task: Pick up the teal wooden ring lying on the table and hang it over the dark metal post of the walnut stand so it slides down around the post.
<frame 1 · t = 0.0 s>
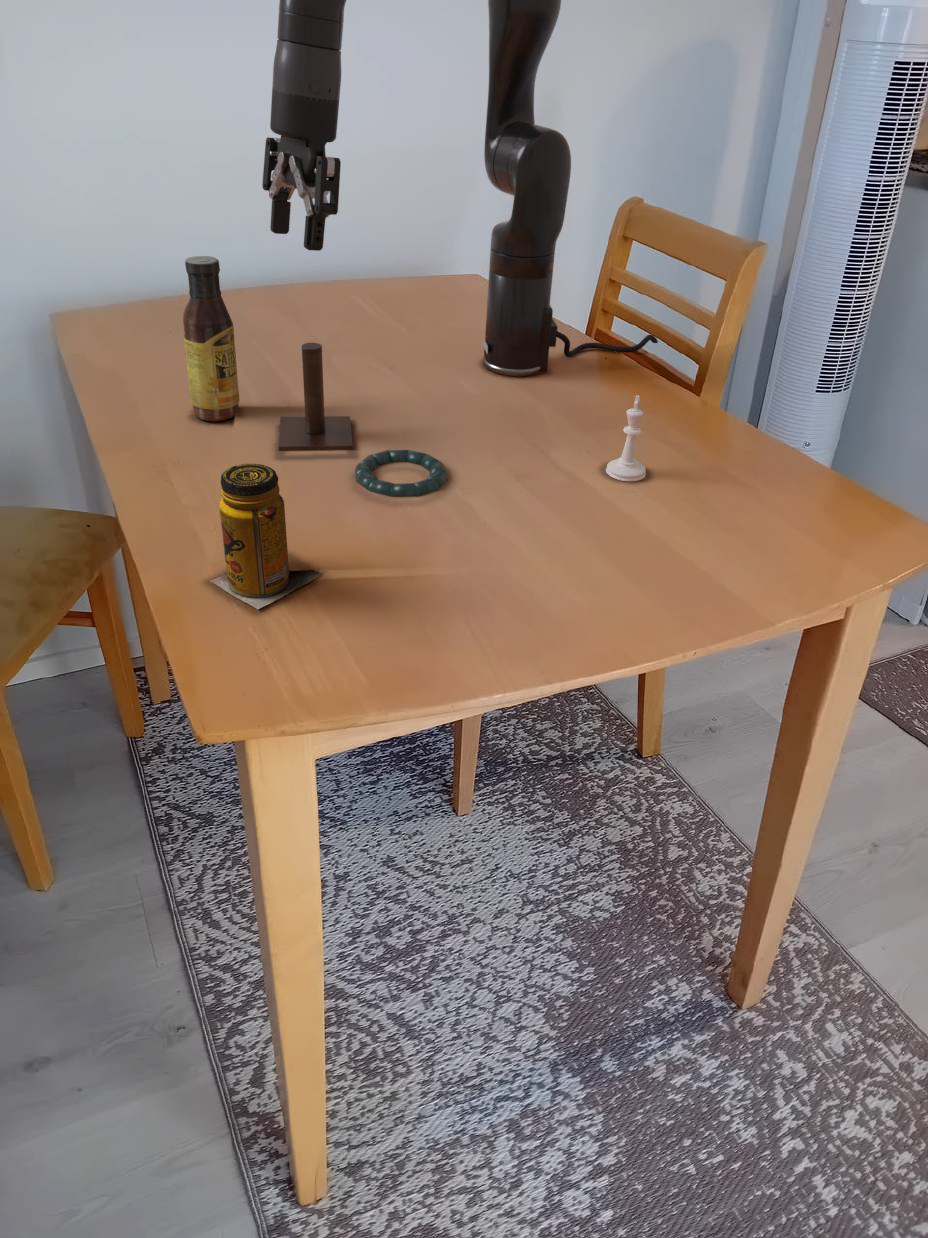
hand: (295, 241, 118), 22 cm above the table, tool pointing down, fingers open, 8 cm apart
condiment: (267, 581, 98), on the table
sauce bottle: (217, 415, 130), on the table
ring: (401, 474, 116), point 1 cm above the table
peg stand: (316, 441, 124), on the table
chess piece: (625, 473, 121), on the table
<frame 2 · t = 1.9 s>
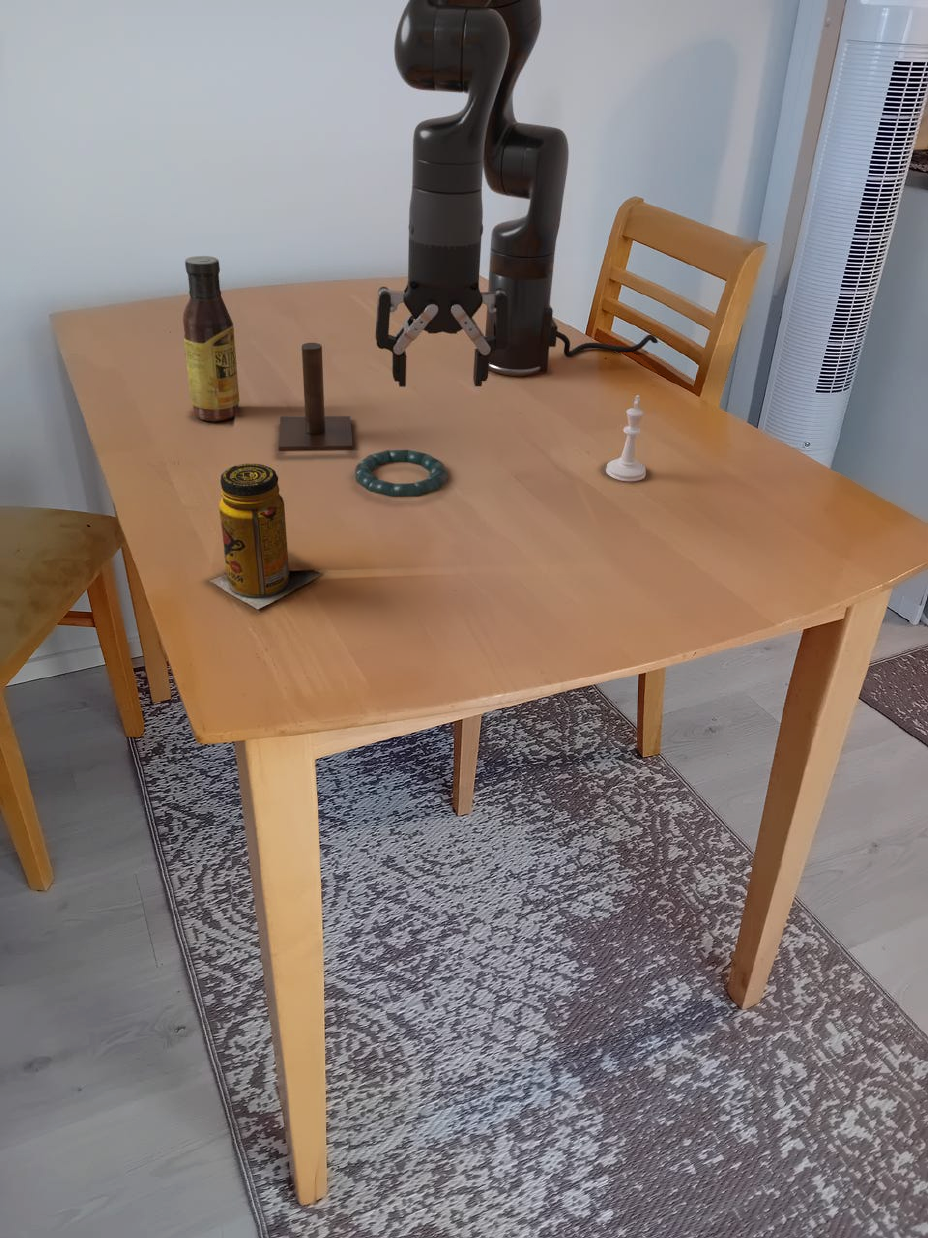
hand: (439, 384, 110), 12 cm above the table, tool pointing down, fingers open, 8 cm apart
nothing on the table moved.
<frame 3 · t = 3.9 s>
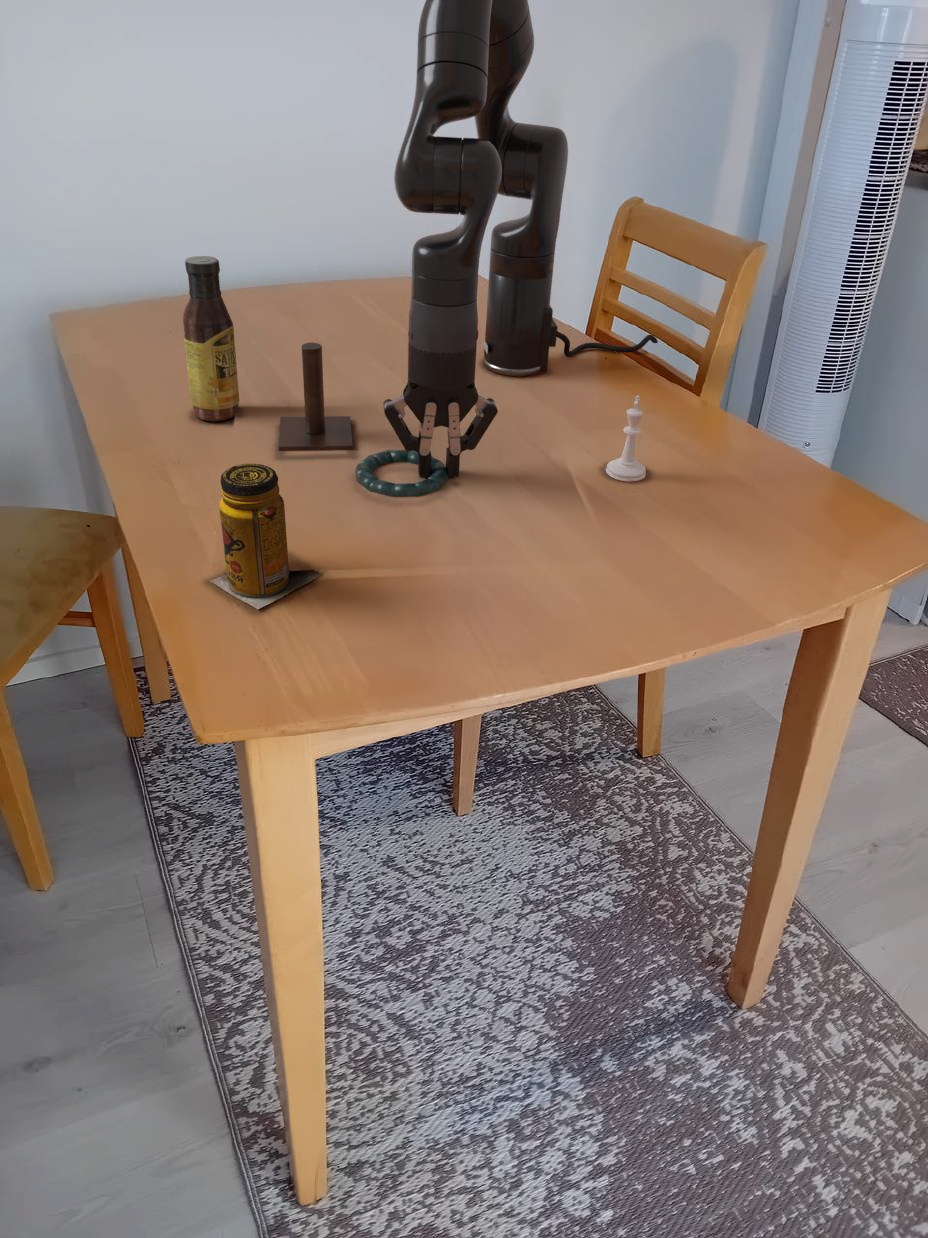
hand: (437, 479, 117), 0 cm above the table, tool pointing down, fingers closed on ring, 2 cm apart
ring: (401, 474, 116), point 1 cm above the table, touching gripper
everything else where it was.
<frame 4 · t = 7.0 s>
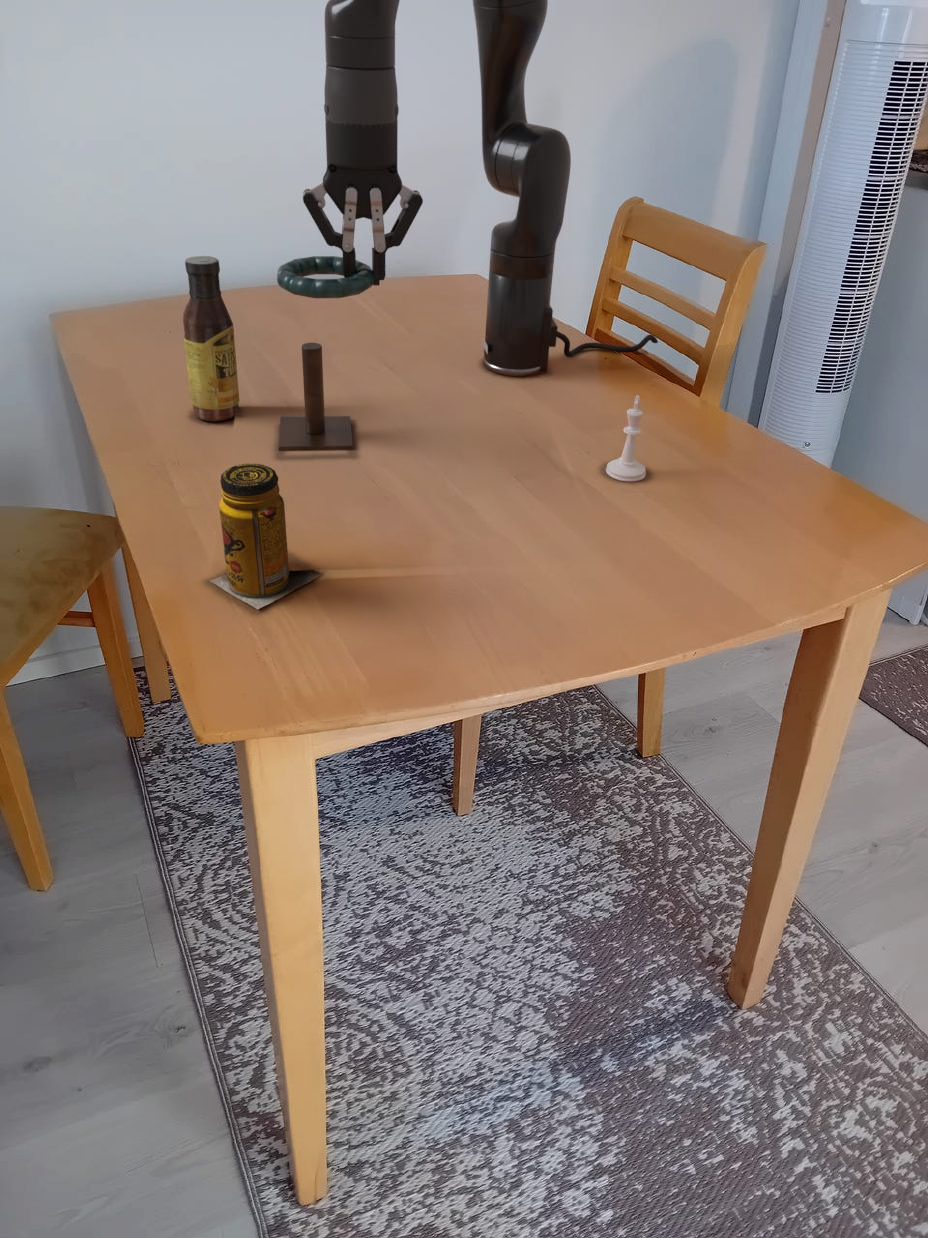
hand: (364, 282, 111), 21 cm above the table, tool pointing down, fingers closed on ring
ring: (325, 276, 110), point 21 cm above the table, touching gripper
everything else where it was.
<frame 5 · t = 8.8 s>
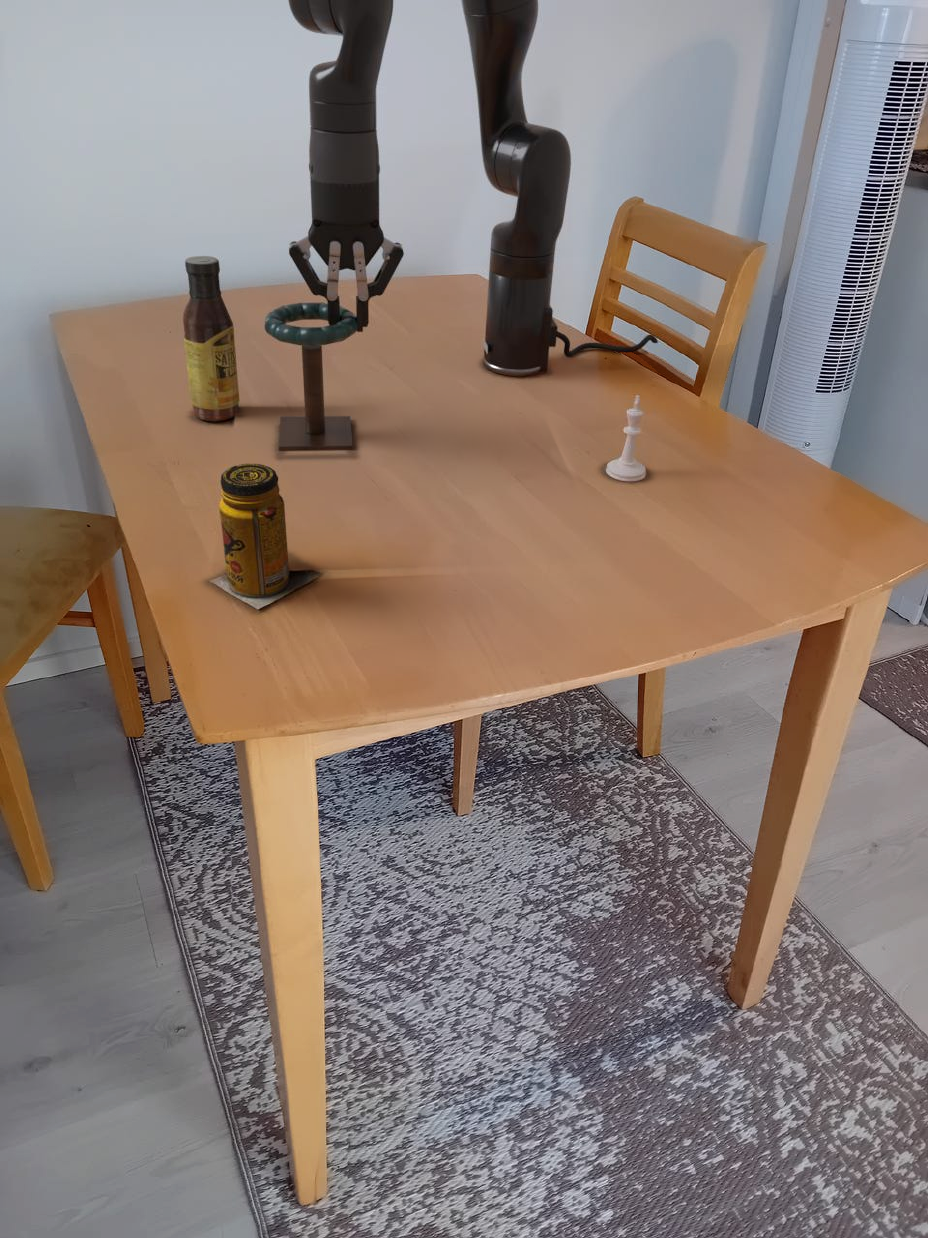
hand: (348, 329, 116), 15 cm above the table, tool pointing down, fingers closed on ring
ring: (311, 323, 115), point 15 cm above the table, touching gripper
everything else where it was.
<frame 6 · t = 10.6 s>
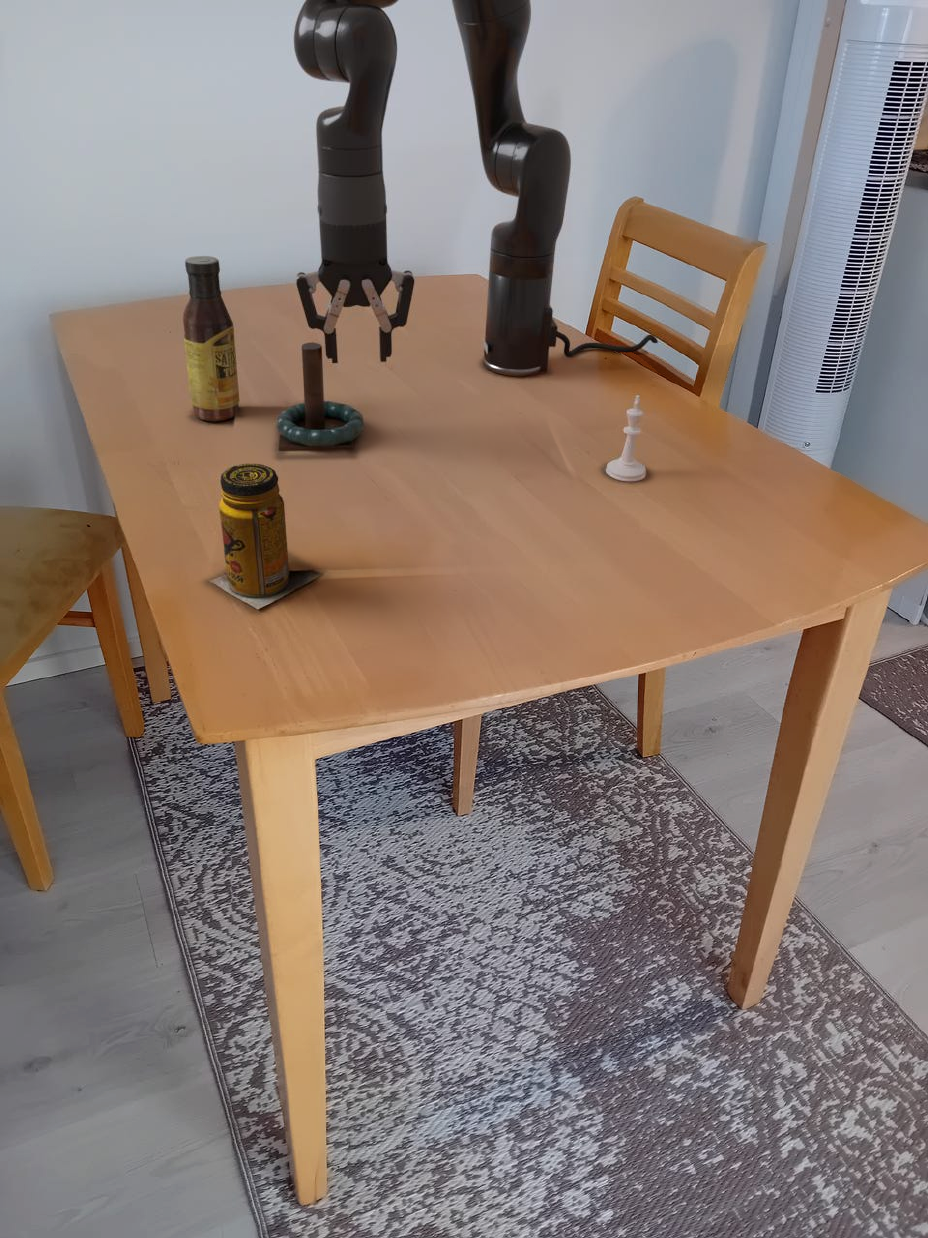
hand: (358, 359, 119), 11 cm above the table, tool pointing down, fingers open, 5 cm apart
ring: (320, 423, 123), point 2 cm above the table, touching peg stand
everything else where it was.
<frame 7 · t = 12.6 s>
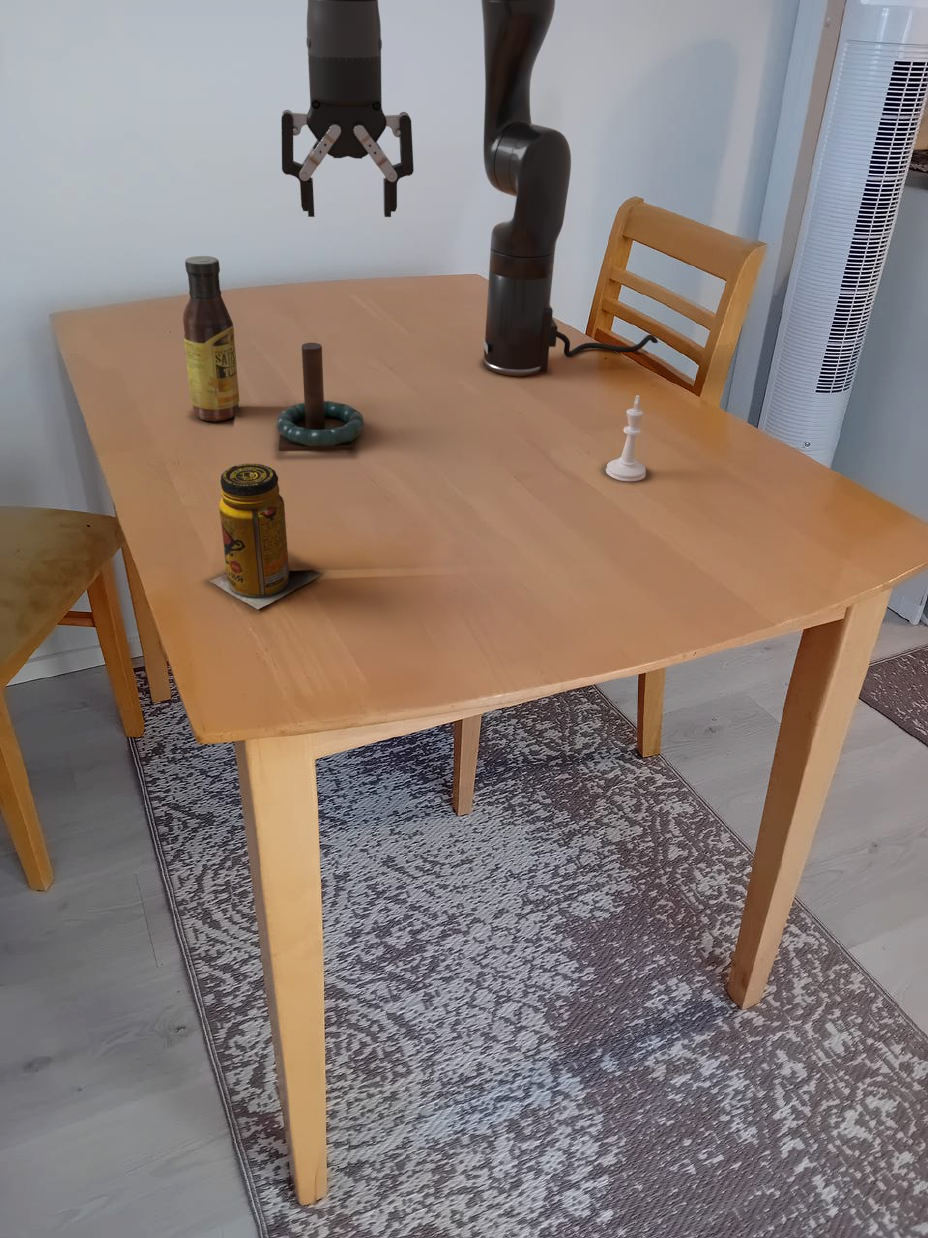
hand: (349, 215, 110), 27 cm above the table, tool pointing down, fingers open, 8 cm apart
nothing on the table moved.
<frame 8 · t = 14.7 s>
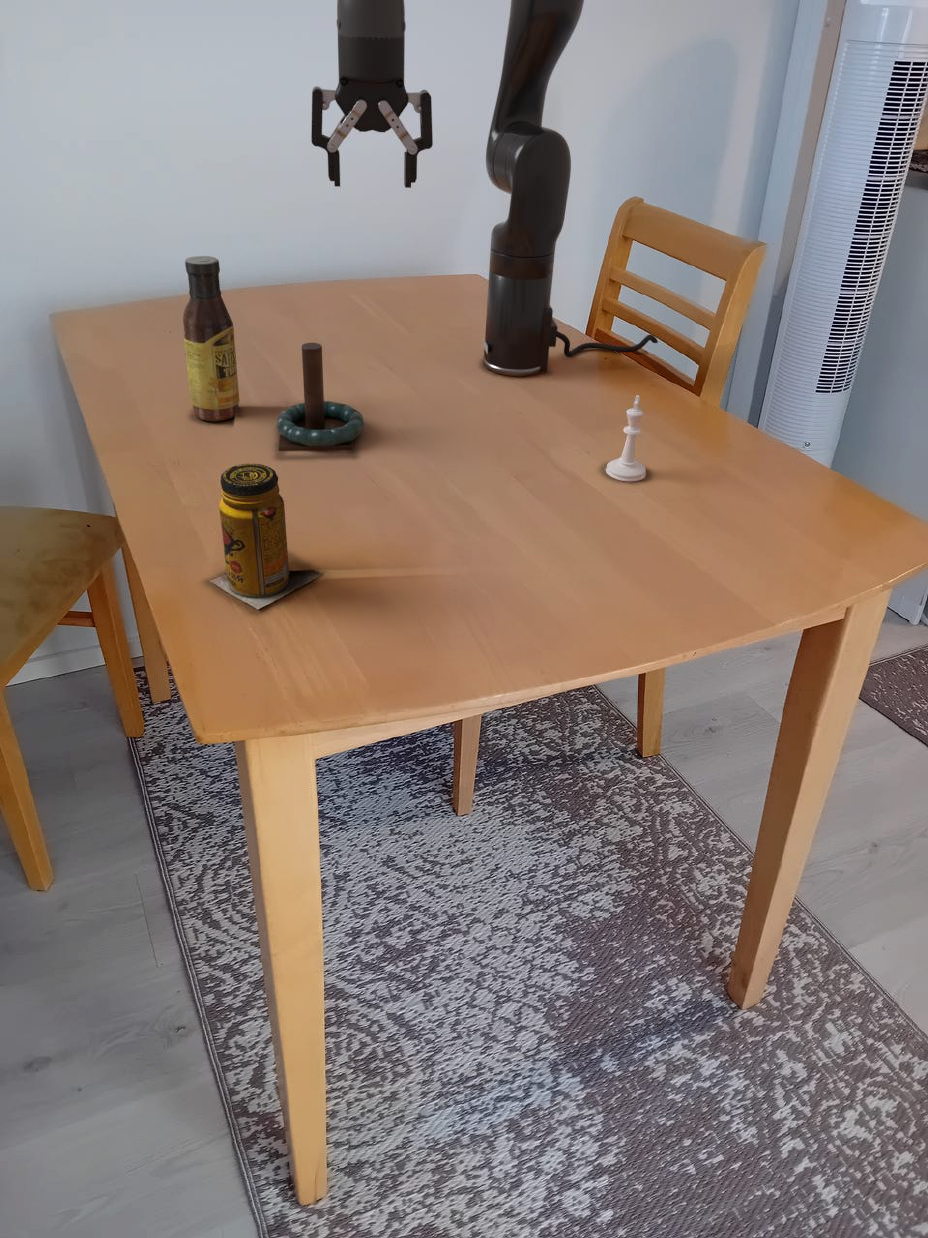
hand: (372, 185, 119), 28 cm above the table, tool pointing down, fingers open, 8 cm apart
nothing on the table moved.
at the end: ring 0.7 cm from the peg stand (horizontally); ring point 2.5 cm above the table; the gripper is holding nothing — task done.
